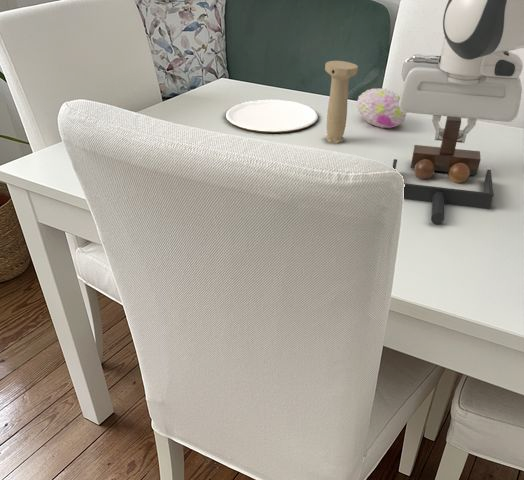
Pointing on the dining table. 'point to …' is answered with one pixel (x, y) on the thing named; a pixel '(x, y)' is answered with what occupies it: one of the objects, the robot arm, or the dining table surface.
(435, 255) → the dining table surface
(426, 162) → the crumb
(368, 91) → the decorative item
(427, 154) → the brush
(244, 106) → the plate
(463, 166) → the crumb
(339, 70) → the handle
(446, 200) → the dustpan
